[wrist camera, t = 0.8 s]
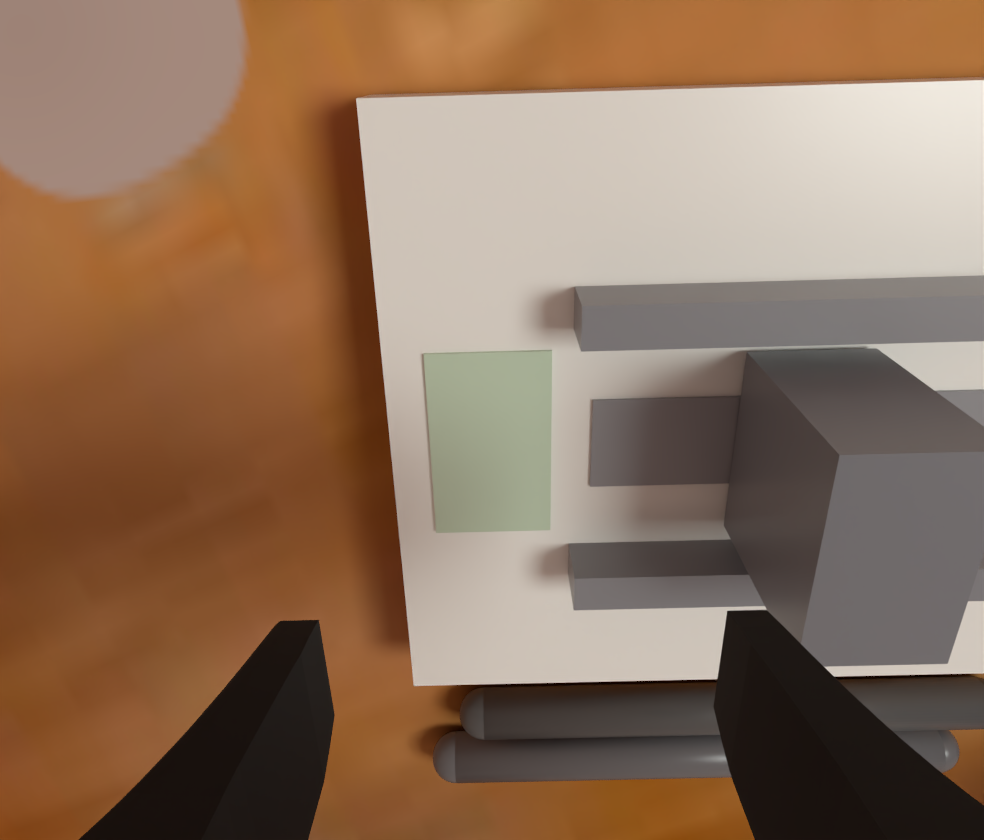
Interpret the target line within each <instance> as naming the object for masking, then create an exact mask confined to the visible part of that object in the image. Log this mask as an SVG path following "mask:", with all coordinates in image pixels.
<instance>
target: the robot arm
mask: <svg viewBox="0 0 984 840" xmlns="http://www.w3.org/2000/svg"><path fill="white" fill-rule="evenodd" d="M713 707H714V711H715V716H716V720H717V724H718V728H719V732H720V736H721V740H722V744H723V748H724V752H725V756H726V760H727V763H728V767H729V771H730V774H731V777H732V779H733V782H734V785H735V788H736V790H737V793H738V796H739V798H740V801H741V804H742V806H743V809H744V812H745V814H746V817H747V820H748V822H749V825H750V828H751V830H752V833H753V836H754V838H755V840H984V806H983V805H982V804H981V803H979V802H978V801H977V800H975V799H974V798H973V797H971V796H970V795H969V794H967V793H966V792H965V791H964V790H962V789H961V788H960V787H959V786H957V785H956V784H955V783H954V782H952V781H951V780H950V779H948V778H947V777H946V776H945V775H943V774H942V773H941V772H940V771H939V770H937V769H936V768H935V767H934V766H933V765H931V764H930V763H929V762H928V761H927V760H926V759H924V758H923V757H922V756H921V755H920V754H919V753H917V752H916V751H915V750H914V749H913V748H911V747H910V746H909V745H908V744H907V743H906V742H904V741H903V740H902V739H901V738H900V737H899V736H897V735H896V734H895V733H894V732H893V731H892V730H891V729H890V728H888V727H887V726H886V725H885V724H884V723H883V722H882V721H881V720H880V719H878V718H877V717H876V716H875V715H874V714H873V713H872V712H871V711H870V710H869V709H868V708H867V707H866V706H864V705H863V704H862V703H861V702H860V701H859V700H858V699H857V698H856V697H855V696H854V695H853V694H852V693H851V692H849V691H848V690H847V689H846V688H845V687H844V686H843V685H842V684H841V683H840V682H839V681H838V680H837V679H836V678H835V677H834V676H833V675H832V674H831V673H830V672H829V671H828V670H827V669H826V668H825V667H824V666H823V665H822V664H821V663H820V662H819V661H818V660H817V659H816V658H815V657H814V656H813V655H812V654H811V653H810V652H809V651H808V650H807V649H806V648H805V647H804V646H803V645H802V644H801V643H800V642H799V641H798V640H797V639H796V638H795V637H794V636H793V635H792V634H791V633H790V632H789V631H788V630H787V629H786V628H785V627H784V626H783V625H782V624H781V623H780V622H779V621H778V620H776V619H775V618H774V617H773V616H772V615H771V614H770V613H769V612H768V611H767V610H735V611H727V616H726V623H725V630H724V637H723V644H722V651H721V658H720V665H719V672H718V678H717V685H716V692H715V699H714V706H713ZM333 722H334V709H333V703H332V697H331V691H330V685H329V679H328V673H327V667H326V661H325V655H324V649H323V643H322V637H321V631H320V625H319V620H302V621H280V622H279V623H278V624H276V625H275V626H274V628H273V629H272V630H271V631H270V632H269V634H268V635H267V636H266V637H265V639H264V640H263V641H262V642H261V644H260V645H259V646H258V647H257V649H256V650H255V651H254V652H253V654H252V655H251V656H250V657H249V659H248V660H247V661H246V662H245V664H244V665H243V666H242V667H241V669H240V670H239V671H238V672H237V673H236V675H235V676H234V677H233V678H232V679H231V681H230V682H229V683H228V684H227V686H226V687H225V688H224V689H223V690H222V692H221V693H220V694H219V695H218V696H217V697H216V698H215V700H214V701H213V702H212V703H211V704H210V705H209V707H208V708H207V709H206V710H205V711H204V712H203V713H202V715H201V716H200V717H199V718H198V719H197V720H196V722H195V723H194V724H193V725H192V726H191V727H190V728H189V730H188V731H187V732H186V733H185V734H184V735H183V736H182V737H181V738H180V739H179V741H178V742H177V743H176V744H175V745H174V746H173V747H172V748H171V749H170V750H169V751H168V752H167V753H166V754H165V755H164V756H163V757H162V759H161V760H160V761H159V762H158V763H157V764H156V765H155V766H154V767H153V768H152V769H151V770H150V771H149V772H148V773H147V774H146V775H145V776H144V778H143V779H142V780H141V781H140V782H139V783H138V784H137V785H136V786H135V787H134V788H133V789H132V790H131V791H130V792H129V793H128V794H127V795H126V796H125V797H124V798H123V799H122V800H121V801H120V802H118V803H117V804H116V805H115V806H114V807H113V808H112V809H111V810H110V811H109V812H108V813H107V814H106V815H105V816H104V817H103V818H102V819H101V820H100V821H98V822H97V823H96V824H95V825H94V826H93V827H92V828H91V829H90V830H89V831H88V832H86V833H85V834H84V835H83V836H82V837H81V838H80V839H79V840H308V838H309V834H310V831H311V827H312V823H313V820H314V816H315V812H316V809H317V805H318V801H319V798H320V794H321V790H322V786H323V783H324V778H325V772H326V766H327V760H328V754H329V748H330V742H331V735H332V728H333Z"/></svg>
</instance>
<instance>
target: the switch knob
mask: <svg viewBox="0 0 984 840" xmlns="http://www.w3.org/2000/svg"><path fill="white" fill-rule="evenodd" d="M724 527H725V529H726V531H727V533H728V535H729V537H730V539H731V541H732V543H733V545H734V547H735V548H736V550H737V552H738V554H739V556H740V558H741V560H742V562H743V564H744V566H745V568H746V570H747V572H748V574H749V576H750V578H751V580H752V582H753V584H754V586H755V588H756V590H757V592H758V594H759V596H760V598H761V599H762V601H763V603H764V605H765V607H766V609H767V611H768V612H769V613H770V614H771V615H772V616H773V617H774V618H775V619H776V620H778V621H779V622H780V623H781V624H782V625H783V626H784V627H785V628H786V629H787V630H788V631H789V632H790V633H791V634H792V635H793V636H794V637H795V638H796V639H797V640H798V641H799V642H800V643H801V644H802V645H803V646H804V647H805V648H806V649H807V650H808V651H809V652H810V653H811V654H812V655H813V656H814V657H815V658H816V659H817V660H818V661H819V662H820V663H821V664H822V665H823V666H824V667H830V666H875V665H920V664H948V661H949V658H950V655H951V652H952V649H953V646H954V643H955V640H956V637H957V634H958V631H959V627H960V624H961V621H962V618H963V615H964V612H965V609H966V606H967V603H968V600H969V597H970V594H971V591H972V587H973V584H974V581H975V578H976V575H977V572H978V569H979V566H980V563H981V560H982V557H983V554H984V426H982V425H981V424H980V423H978V422H977V421H975V420H974V419H973V418H971V417H970V416H969V415H967V414H966V413H965V412H963V411H962V410H960V409H959V408H958V407H956V406H955V405H954V404H952V403H951V402H949V401H948V400H947V399H945V398H944V397H943V396H941V395H940V394H938V393H937V392H936V391H934V390H933V389H932V388H930V387H929V386H928V385H926V384H925V383H923V382H922V381H921V380H919V379H918V378H917V377H915V376H914V375H912V374H911V373H910V372H908V371H907V370H906V369H904V368H903V367H902V366H900V365H899V364H897V363H896V362H895V361H893V360H892V359H891V358H889V357H888V356H886V355H885V354H884V353H882V352H881V351H880V350H878V349H877V348H871V349H833V350H794V351H756V352H747V353H746V361H745V368H744V376H743V383H742V391H741V398H740V406H739V413H738V421H737V428H736V436H735V443H734V451H733V458H732V466H731V473H730V481H729V488H728V496H727V503H726V511H725V518H724Z"/></svg>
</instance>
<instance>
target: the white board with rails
mask: <svg viewBox="0 0 984 840" xmlns="http://www.w3.org/2000/svg"><path fill="white" fill-rule="evenodd" d="M356 103H357V113H358V123H359V133H360V144H361V154H362V164H363V174H364V184H365V194H366V204H367V215H368V225H369V235H370V245H371V255H372V265H373V276H374V286H375V296H376V306H377V316H378V326H379V336H380V347H381V357H382V367H383V377H384V387H385V397H386V408H387V418H388V428H389V438H390V448H391V458H392V468H393V479H394V489H395V499H396V509H397V519H398V529H399V539H400V550H401V560H402V570H403V580H404V590H405V600H406V611H407V621H408V631H409V641H410V651H411V661H412V671H413V682H414V686H433V685H478V684H523V683H568V682H613V681H658V680H704V679H717V678H718V672H719V665H720V658H721V651H722V644H723V637H724V630H725V623H726V616H727V611H735V610H767V609H766V607H765V605H764V603H763V601H762V599H761V598H760V596H759V594H758V592H757V590H756V588H755V586H754V584H753V582H752V580H751V578H750V576H749V574H748V572H747V570H746V568H745V566H744V564H743V562H742V560H741V558H740V556H739V554H738V552H737V550H736V548H735V547H734V545H733V543H732V541H731V539H730V537H729V535H728V533H727V531H726V529H725V527H724V518H725V511H726V503H727V496H728V488H729V481H730V473H731V466H732V458H733V451H734V443H735V436H736V428H737V421H738V413H739V406H740V398H741V391H742V383H743V376H744V368H745V361H746V353H747V352H756V351H794V350H833V349H871V348H877V349H878V350H880V351H881V352H882V353H884V354H885V355H886V356H888V357H889V358H891V359H892V360H893V361H895V362H896V363H897V364H899V365H900V366H902V367H903V368H904V369H906V370H907V371H908V372H910V373H911V374H912V375H914V376H915V377H917V378H918V379H919V380H921V381H922V382H923V383H925V384H926V385H928V386H929V387H930V388H932V389H933V390H934V391H936V392H937V393H938V394H940V395H941V396H943V397H944V398H945V399H947V400H948V401H949V402H951V403H952V404H954V405H955V406H956V407H958V408H959V409H960V410H962V411H963V412H965V413H966V414H967V415H969V416H970V417H971V418H973V419H974V420H975V421H977V422H978V423H980V424H981V425H982V426H984V77H964V78H929V79H895V80H861V81H826V82H792V83H758V84H723V85H689V86H655V87H621V88H586V89H552V90H518V91H483V92H449V93H415V94H380V95H368V96H364V97H360V98H356ZM825 668H826V669H827V670H828V671H829V672H830V673H831V674H832V675H833V676H834V677H839V676H884V675H929V674H974V673H984V554H983V557H982V560H981V563H980V566H979V569H978V572H977V575H976V578H975V581H974V584H973V587H972V591H971V594H970V597H969V600H968V603H967V606H966V609H965V612H964V615H963V618H962V621H961V624H960V627H959V631H958V634H957V637H956V640H955V643H954V646H953V649H952V652H951V655H950V658H949V661H948V664H920V665H875V666H830V667H825ZM837 680H838V681H839V682H840V683H841V684H842V685H843V686H844V687H845V688H846V689H847V690H848V691H849V692H851V693H852V694H853V695H854V696H855V697H856V698H857V699H858V700H859V701H860V702H861V703H862V704H863V705H864V706H866V707H867V708H868V709H869V710H870V711H871V712H872V713H873V714H874V715H875V716H876V717H877V718H878V719H880V720H881V721H882V722H883V723H884V724H885V725H886V726H887V727H888V728H890V729H891V730H892V731H893V732H894V733H895V734H896V735H897V736H899V737H900V738H901V739H902V740H903V741H904V742H906V743H907V744H908V745H909V746H910V747H911V748H913V749H914V750H915V751H916V752H917V753H919V754H920V755H921V756H922V757H923V758H924V759H926V760H927V761H928V762H929V763H930V764H931V765H933V766H934V767H935V768H936V769H937V770H939V771H940V772H941V773H942V772H946V771H948V770H950V769H951V768H953V767H954V766H955V764H956V763H957V761H958V758H959V746H958V743H957V741H956V739H955V737H954V736H953V734H952V733H951V732H950V731H949V730H971V729H984V679H983V678H979V677H972V676H967V677H922V678H877V679H837ZM716 685H717V682H696V683H651V684H606V685H560V686H515V687H481V688H477V689H474V690H473V691H471V692H470V693H468V694H467V695H466V697H465V698H464V699H463V701H462V704H461V707H460V720H461V724H462V726H463V728H464V729H465V731H453V732H449V733H447V734H445V735H444V736H442V737H441V738H440V739H439V741H438V742H437V744H436V746H435V748H434V751H433V764H434V767H435V769H436V772H437V773H438V774H439V776H440V777H442V778H443V779H444V780H446V781H448V782H451V783H485V782H533V781H580V780H628V779H675V778H723V777H731V774H730V771H729V767H728V763H727V760H726V756H725V752H724V748H723V744H722V740H721V736H720V732H719V728H718V724H717V720H716V716H715V711H714V707H713V706H714V699H715V692H716Z"/></svg>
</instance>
